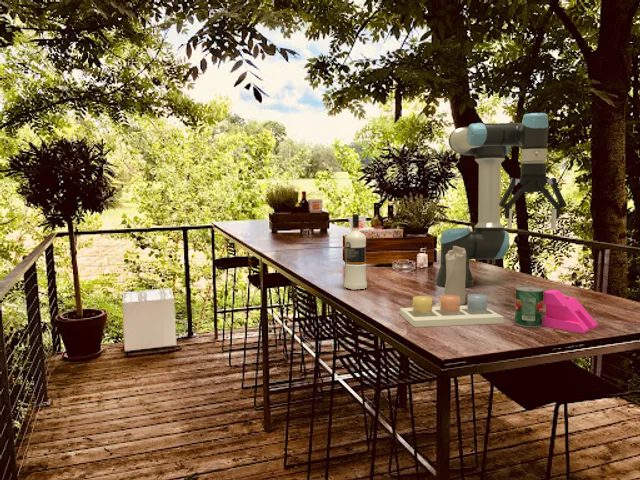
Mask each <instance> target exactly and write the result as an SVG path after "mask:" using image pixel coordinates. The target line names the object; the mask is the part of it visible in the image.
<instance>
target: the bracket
mask: <svg viewBox="0 0 640 480" xmlns="http://www.w3.org/2000/svg"><path fill="white" fill-rule="evenodd" d="M543 295H544V296H543V305H544V304H545V316H543V320H542V327H543V326H544V327H549V328H553V329H554V328H555V329H559V330H564V331H569V332H570V331H571V332H575V333H579V334H586V333H588V332H589V331H590V329H596V328H598V326H599V324H598V322H597V321H596V320H595V319H594V318H593V317H592V315H590V314H591V313H590V312H588V310H587V309H585V307H584V306H583V305H582V304H581V303H580V302H579V301H578V299H577V298H576V297H571V296H566V295H564V294H563V293H562V291H561V290H556V289H549V290H546V291H544V294H543Z"/></svg>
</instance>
